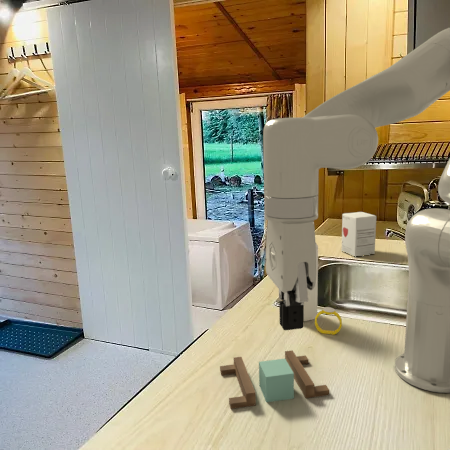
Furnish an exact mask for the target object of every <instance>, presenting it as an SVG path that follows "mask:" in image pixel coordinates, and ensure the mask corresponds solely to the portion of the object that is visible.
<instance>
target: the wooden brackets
mask: <svg viewBox="0 0 450 450" xmlns="http://www.w3.org/2000/svg"><path fill="white" fill-rule="evenodd" d="M284 359H286V361H287V363H288V364H289V366H290V368H291V369H292V371H293V373H294V382H296V384H297V385H298V388H299V389H300V391H301V393H302V394H303V396H304V398H305V399H309V398H310V399H311V398H317V397H318V398H319V397H326V396H329V395H330V388H329V387H328V386H327V384H323V385H321V384H320V385H315V383H314V381H313V380H312V378H311V377H310V375H309V374H308V372H307V370H306V369H305V367H304V365H309V360H310V359H309V358H308V356H307V355H305V354H304V355H299V356H297V355H296V353H295V352H294V351H293V350H292V349H291V350H286V351H284ZM219 371H220V375H221V376H225V375H233V374H235V376H236V379H237V382H238V384H239V387H240V391H241V394H242V396H235V397H233V396H232V397H228V404H229V407H230V409H231V410H233V409H239V408H240V409H241V408H248V407H255V406H256V405H257V403H256V399H257V397H256V390H255V388H254V385H253V382H252V379H251V377H250V375H249V373H248V370H247V367H246V365H245V362H244V359H243V357H242V356H237V357H236V356H235V357H233V364H227V365H226V364H225V365H220V366H219Z"/></svg>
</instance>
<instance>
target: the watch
mask: <svg viewBox="0 0 450 450" xmlns="http://www.w3.org/2000/svg"><path fill="white" fill-rule="evenodd" d="M323 314H324V315H328V316H332V315H333V316H335V317H336V318H337V319H338V322H339V326H338V328H336V329H335V330H327V329H326V330H325V329H322V327H320V326H319V324H318V318H319V316H321V315H323ZM314 326H315V328H316V331H318V332H319V333H320V334H325V335H332V336H335V335H337V334H338V333H339V332H340V331H341V329H342V327H343V321H342V317H341V316H340V314H339V312H337V311H336V310H335V308H333V307H330V306H325V307H323V308H322V310H320V311H317V315H316V317H315V319H314Z"/></svg>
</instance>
